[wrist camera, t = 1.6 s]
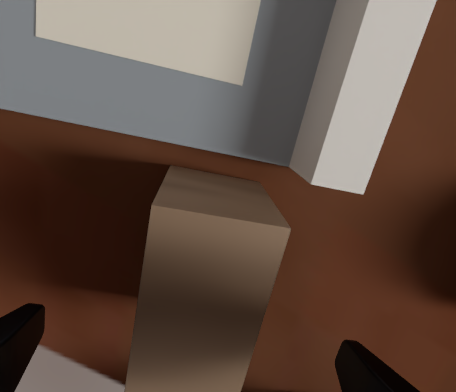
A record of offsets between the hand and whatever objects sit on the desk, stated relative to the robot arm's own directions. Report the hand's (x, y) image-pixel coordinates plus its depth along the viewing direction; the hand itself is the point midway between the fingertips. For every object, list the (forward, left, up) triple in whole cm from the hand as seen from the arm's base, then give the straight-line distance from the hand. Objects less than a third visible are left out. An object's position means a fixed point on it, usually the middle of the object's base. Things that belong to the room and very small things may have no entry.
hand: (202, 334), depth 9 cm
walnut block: (0, 0, -6) cm, 6 cm away
